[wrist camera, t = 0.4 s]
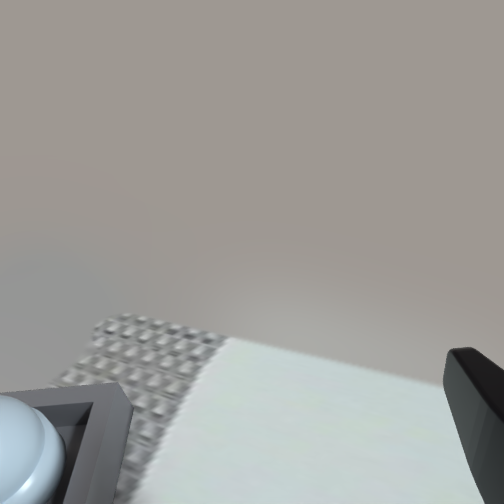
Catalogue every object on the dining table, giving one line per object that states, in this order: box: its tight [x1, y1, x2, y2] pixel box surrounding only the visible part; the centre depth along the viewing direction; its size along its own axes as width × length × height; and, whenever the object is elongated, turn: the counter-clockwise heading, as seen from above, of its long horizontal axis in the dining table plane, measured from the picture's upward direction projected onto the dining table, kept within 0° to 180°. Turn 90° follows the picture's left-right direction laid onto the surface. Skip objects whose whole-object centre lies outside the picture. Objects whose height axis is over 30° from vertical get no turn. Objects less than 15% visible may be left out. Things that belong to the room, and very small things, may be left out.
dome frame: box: [0, 382, 134, 504], centre depth 25 cm, size 10×10×3 cm
